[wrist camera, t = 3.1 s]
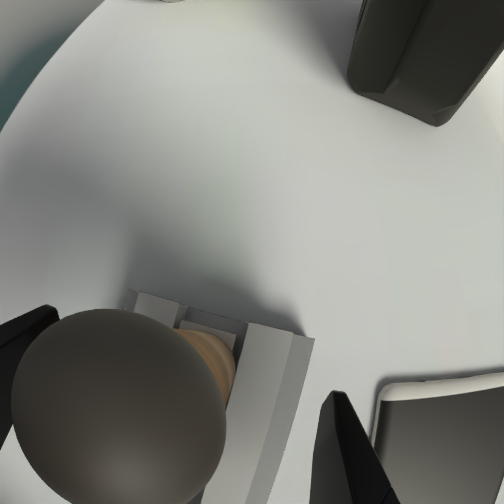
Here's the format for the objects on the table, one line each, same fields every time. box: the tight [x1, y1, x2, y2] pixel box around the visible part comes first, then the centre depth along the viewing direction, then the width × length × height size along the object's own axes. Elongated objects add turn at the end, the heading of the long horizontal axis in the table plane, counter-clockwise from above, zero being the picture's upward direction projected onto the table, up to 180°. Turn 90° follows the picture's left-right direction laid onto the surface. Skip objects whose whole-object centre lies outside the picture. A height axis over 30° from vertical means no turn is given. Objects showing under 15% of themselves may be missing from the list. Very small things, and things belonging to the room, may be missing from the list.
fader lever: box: [11, 309, 238, 504], centre depth 9 cm, size 4×4×13 cm
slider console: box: [123, 289, 315, 504], centre depth 14 cm, size 17×10×4 cm, turn 166°
